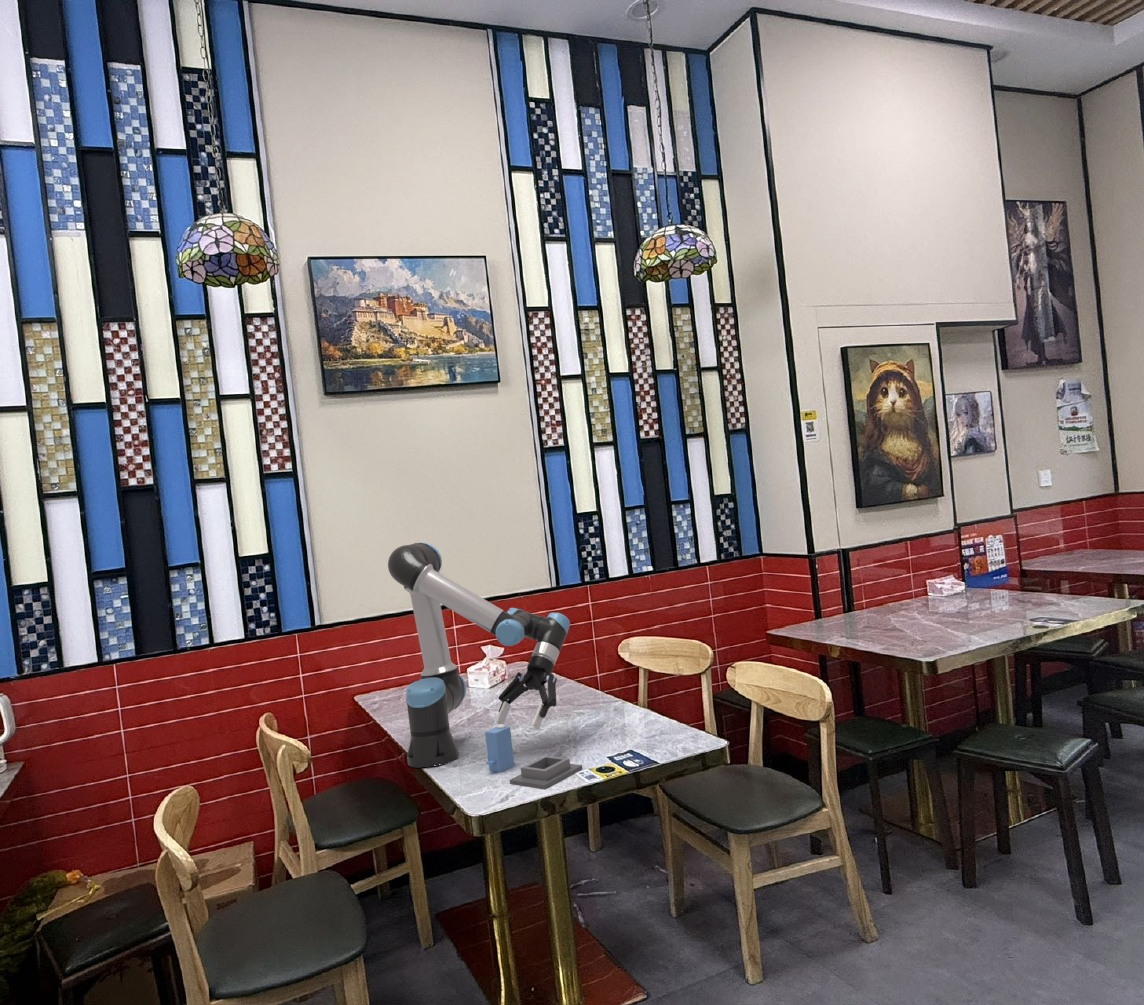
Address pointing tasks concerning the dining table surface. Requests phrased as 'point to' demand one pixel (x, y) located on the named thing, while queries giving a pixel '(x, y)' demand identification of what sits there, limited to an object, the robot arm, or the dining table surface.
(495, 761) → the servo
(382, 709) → the dining table surface
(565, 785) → the dining table surface
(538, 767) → the chassis
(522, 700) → the dining table surface
